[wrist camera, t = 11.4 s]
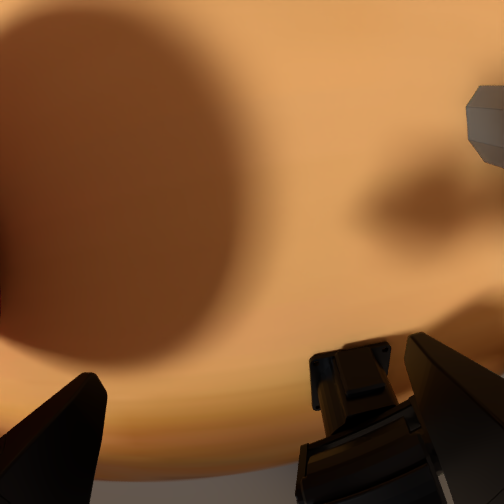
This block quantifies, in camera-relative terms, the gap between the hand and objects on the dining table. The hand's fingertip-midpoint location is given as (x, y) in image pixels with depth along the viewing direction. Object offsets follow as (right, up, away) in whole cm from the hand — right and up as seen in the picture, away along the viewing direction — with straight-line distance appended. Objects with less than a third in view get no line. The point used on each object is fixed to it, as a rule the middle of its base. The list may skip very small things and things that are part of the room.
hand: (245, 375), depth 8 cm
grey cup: (+17, +12, +8) cm, 22 cm away
